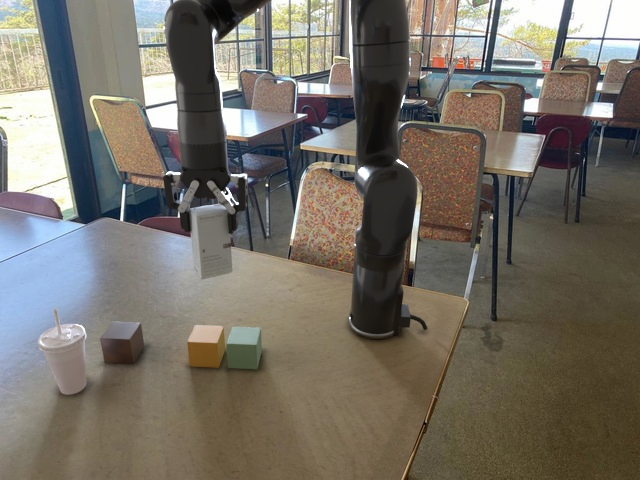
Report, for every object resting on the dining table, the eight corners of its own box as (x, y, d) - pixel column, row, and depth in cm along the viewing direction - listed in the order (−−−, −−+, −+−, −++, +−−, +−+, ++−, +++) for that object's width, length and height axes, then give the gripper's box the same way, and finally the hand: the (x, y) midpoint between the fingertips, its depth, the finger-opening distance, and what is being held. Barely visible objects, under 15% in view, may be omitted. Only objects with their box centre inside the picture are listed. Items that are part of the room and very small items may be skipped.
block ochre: (225, 349, 85) (223, 326, 83) (218, 367, 81) (217, 343, 79) (197, 348, 85) (195, 324, 83) (189, 366, 81) (186, 341, 79)
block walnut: (144, 346, 86) (141, 322, 84) (133, 364, 81) (129, 339, 79) (116, 345, 86) (112, 321, 84) (104, 362, 81) (99, 338, 79)
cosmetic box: (201, 280, 84) (195, 216, 79) (192, 270, 88) (186, 208, 83) (234, 272, 87) (230, 209, 82) (224, 263, 91) (220, 202, 86)
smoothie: (83, 368, 80) (68, 294, 74) (103, 385, 76) (88, 309, 70) (43, 387, 75) (23, 311, 70) (62, 407, 71) (43, 328, 66)
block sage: (261, 351, 85) (261, 327, 83) (257, 369, 81) (256, 344, 79) (233, 350, 85) (232, 326, 83) (227, 368, 81) (226, 343, 79)
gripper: (150, 141, 74) (162, 238, 81) (242, 143, 74) (247, 241, 81) (166, 131, 81) (176, 222, 88) (250, 133, 81) (254, 224, 87)
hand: (210, 231), depth 84 cm, fingers closed on cosmetic box, 7 cm apart
